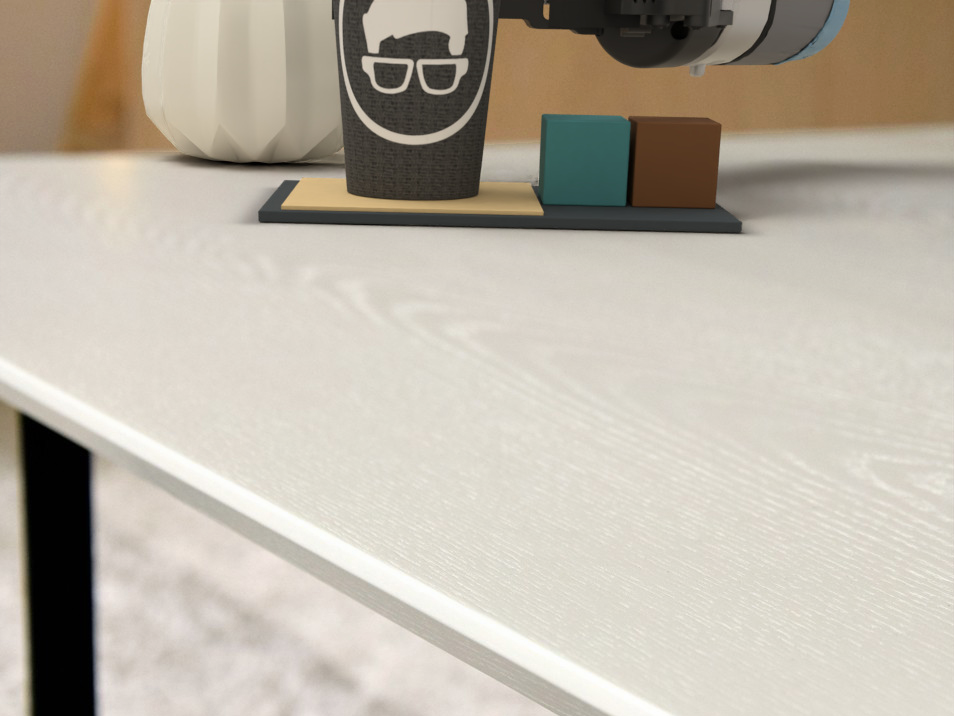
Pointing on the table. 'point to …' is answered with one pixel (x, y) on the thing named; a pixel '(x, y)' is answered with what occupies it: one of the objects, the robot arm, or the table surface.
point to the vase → (244, 78)
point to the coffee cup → (414, 95)
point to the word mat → (558, 184)
